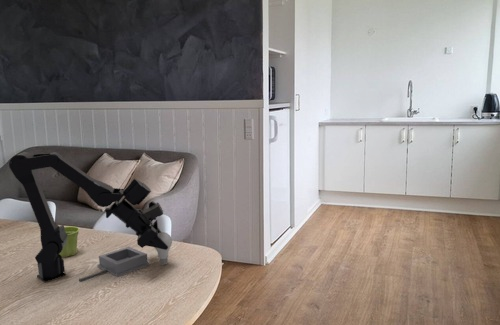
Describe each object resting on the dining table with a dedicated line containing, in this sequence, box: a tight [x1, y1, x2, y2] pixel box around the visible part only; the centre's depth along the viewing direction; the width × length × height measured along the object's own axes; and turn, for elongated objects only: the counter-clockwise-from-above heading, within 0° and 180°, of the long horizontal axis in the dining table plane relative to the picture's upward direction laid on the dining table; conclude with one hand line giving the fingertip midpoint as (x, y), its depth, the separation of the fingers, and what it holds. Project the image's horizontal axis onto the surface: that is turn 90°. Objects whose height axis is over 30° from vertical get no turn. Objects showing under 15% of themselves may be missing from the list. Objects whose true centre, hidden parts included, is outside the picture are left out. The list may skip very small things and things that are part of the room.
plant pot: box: [59, 226, 80, 258], centre depth 153 cm, size 9×9×9 cm
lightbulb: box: [154, 231, 173, 266], centre depth 141 cm, size 6×6×11 cm
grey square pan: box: [78, 246, 151, 283], centre depth 138 cm, size 21×12×4 cm, turn 137°
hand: (167, 245), depth 141 cm, fingers closed on lightbulb, 6 cm apart
